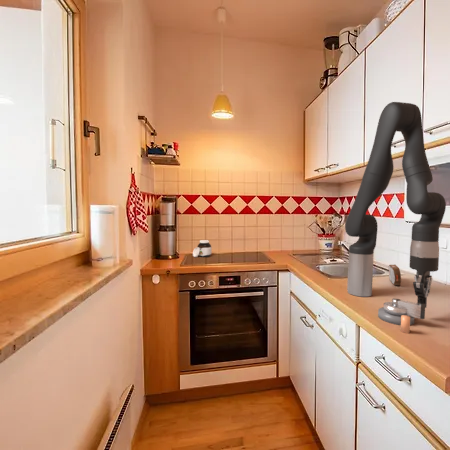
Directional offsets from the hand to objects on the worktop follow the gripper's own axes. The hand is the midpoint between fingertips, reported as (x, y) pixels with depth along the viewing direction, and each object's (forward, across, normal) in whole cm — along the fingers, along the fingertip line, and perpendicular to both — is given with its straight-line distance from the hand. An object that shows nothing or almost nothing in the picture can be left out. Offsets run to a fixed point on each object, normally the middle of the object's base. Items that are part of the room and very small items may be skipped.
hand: (421, 307), depth 89 cm
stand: (+4, +7, -4) cm, 9 cm away
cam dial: (+1, +6, -4) cm, 7 cm away
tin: (+4, -41, -20) cm, 46 cm away
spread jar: (+3, -14, -136) cm, 137 cm away
